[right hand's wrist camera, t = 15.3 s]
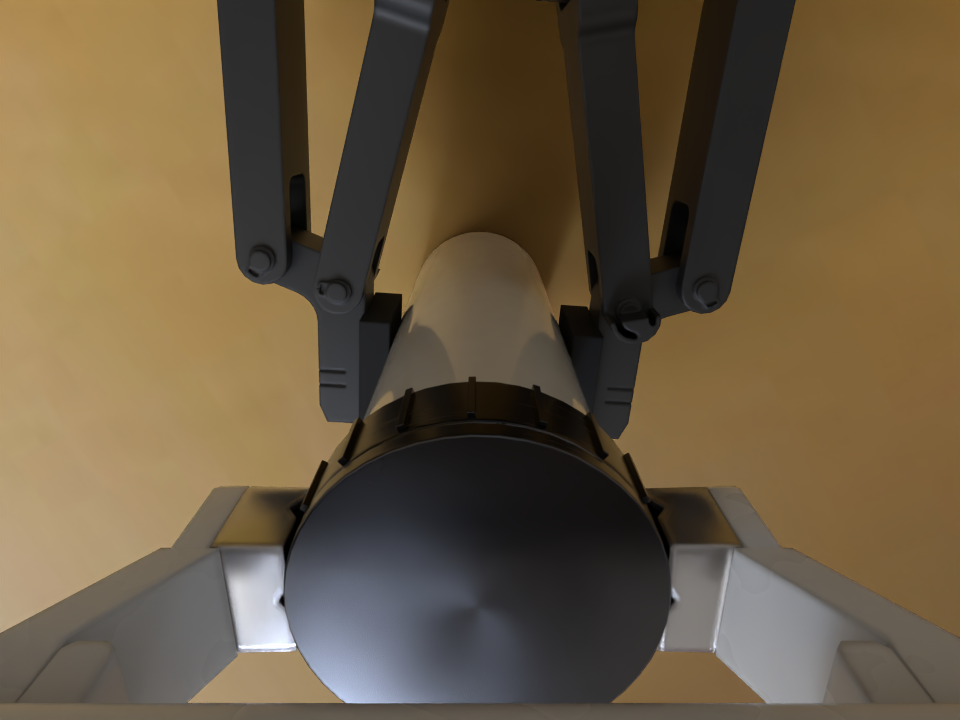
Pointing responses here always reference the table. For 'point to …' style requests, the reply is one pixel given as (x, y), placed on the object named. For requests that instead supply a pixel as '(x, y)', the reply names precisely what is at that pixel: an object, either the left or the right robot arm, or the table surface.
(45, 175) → the table surface
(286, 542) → the right robot arm
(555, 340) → the jar
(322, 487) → the lid
